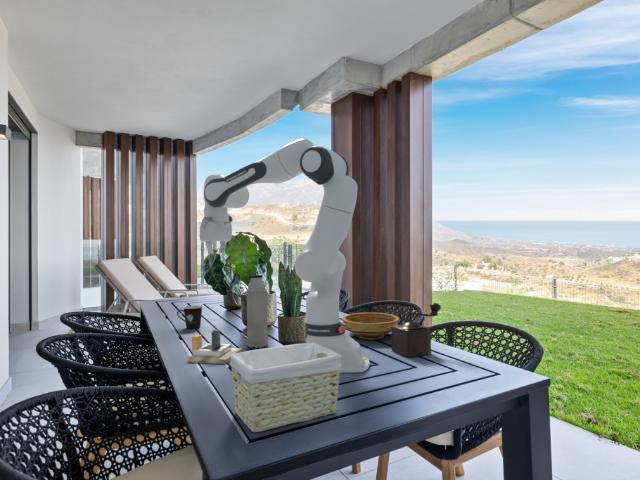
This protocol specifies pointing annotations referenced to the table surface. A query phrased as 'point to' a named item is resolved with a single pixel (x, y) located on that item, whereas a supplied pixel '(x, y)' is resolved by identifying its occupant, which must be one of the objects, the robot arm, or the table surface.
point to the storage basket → (285, 384)
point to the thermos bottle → (257, 312)
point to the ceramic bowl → (370, 324)
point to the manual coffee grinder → (413, 335)
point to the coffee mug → (192, 316)
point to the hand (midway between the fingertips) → (216, 253)
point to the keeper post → (215, 346)
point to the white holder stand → (207, 348)
